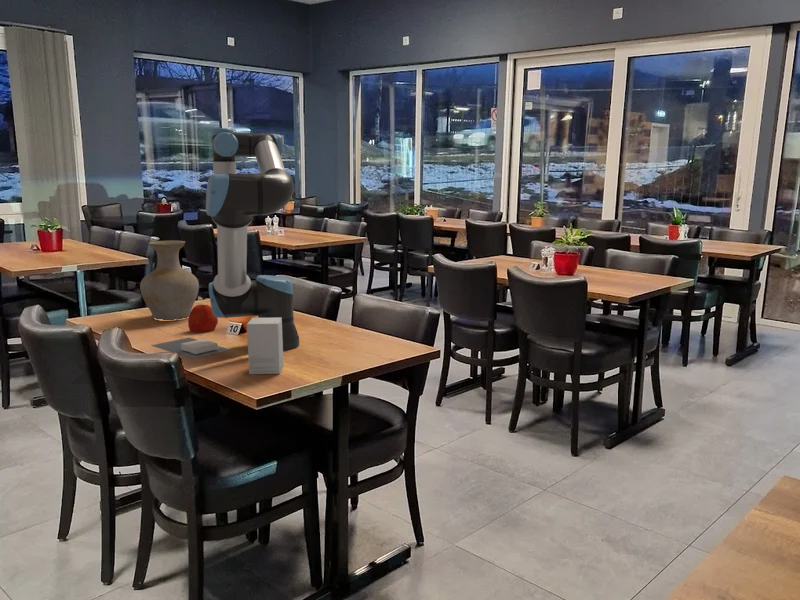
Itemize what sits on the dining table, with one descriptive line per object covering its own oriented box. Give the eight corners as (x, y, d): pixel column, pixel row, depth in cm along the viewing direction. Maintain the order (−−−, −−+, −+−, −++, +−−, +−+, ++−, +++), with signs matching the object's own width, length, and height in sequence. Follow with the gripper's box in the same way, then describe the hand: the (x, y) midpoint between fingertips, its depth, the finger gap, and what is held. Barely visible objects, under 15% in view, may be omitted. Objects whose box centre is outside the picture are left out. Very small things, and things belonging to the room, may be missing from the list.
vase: (187, 309, 279) (183, 238, 273) (209, 318, 262) (205, 242, 257) (134, 316, 265) (129, 241, 260) (154, 326, 249) (148, 246, 243)
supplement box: (284, 365, 199) (282, 316, 197) (280, 374, 191) (278, 323, 188) (253, 365, 199) (252, 316, 196) (248, 374, 190) (246, 323, 187)
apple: (223, 331, 242) (222, 302, 240) (204, 337, 233) (203, 308, 231) (201, 328, 246) (200, 300, 244) (182, 334, 237) (180, 305, 235)
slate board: (231, 353, 212) (231, 349, 212) (192, 362, 202) (192, 358, 202) (189, 340, 228) (189, 337, 228) (151, 348, 217) (151, 345, 217)
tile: (203, 345, 217) (217, 349, 212) (181, 350, 211) (195, 354, 206) (203, 338, 216) (217, 343, 211) (181, 343, 211) (195, 347, 205)
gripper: (245, 174, 227) (248, 243, 231) (223, 174, 235) (226, 241, 239) (227, 174, 221) (230, 245, 225) (204, 174, 229) (208, 242, 234)
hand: (228, 243), depth 232 cm, fingers closed
